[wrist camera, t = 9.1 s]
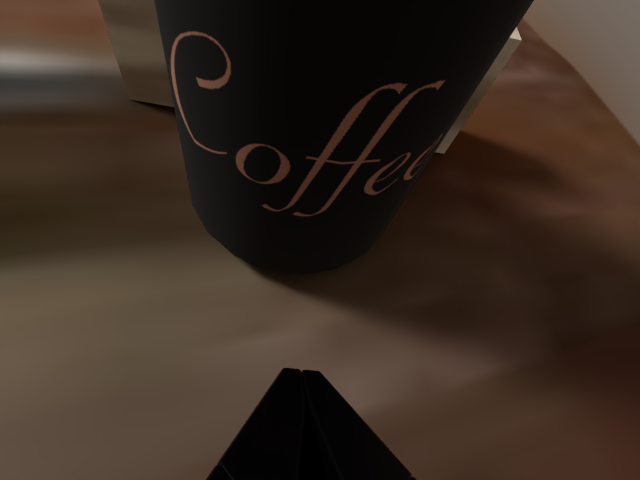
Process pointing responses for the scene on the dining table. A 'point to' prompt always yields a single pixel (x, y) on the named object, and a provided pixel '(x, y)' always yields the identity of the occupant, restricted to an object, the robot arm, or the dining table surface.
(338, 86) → the coffee jar
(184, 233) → the dining table surface
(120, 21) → the bench stop
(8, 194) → the dining table surface
